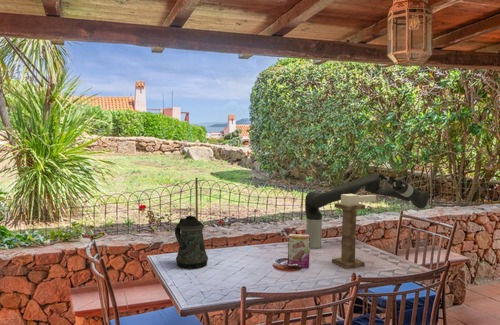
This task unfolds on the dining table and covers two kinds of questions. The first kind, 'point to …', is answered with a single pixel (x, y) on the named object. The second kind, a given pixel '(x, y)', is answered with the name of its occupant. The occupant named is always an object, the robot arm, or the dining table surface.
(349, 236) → the stand
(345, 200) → the handle block
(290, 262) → the candy bar box
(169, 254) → the dining table surface
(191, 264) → the beer stein
